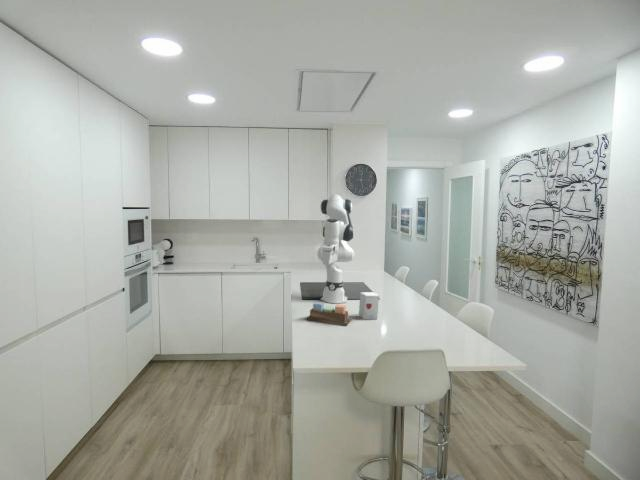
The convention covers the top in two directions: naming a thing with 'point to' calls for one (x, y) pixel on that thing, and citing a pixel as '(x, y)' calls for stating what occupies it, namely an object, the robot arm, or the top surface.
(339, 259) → the robot arm
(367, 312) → the supplement box
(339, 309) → the terracotta block
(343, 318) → the divided box
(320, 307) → the blue block
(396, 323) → the top surface
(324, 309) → the sage block
